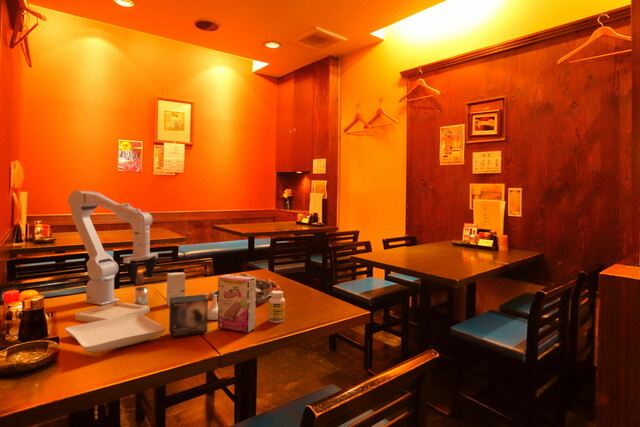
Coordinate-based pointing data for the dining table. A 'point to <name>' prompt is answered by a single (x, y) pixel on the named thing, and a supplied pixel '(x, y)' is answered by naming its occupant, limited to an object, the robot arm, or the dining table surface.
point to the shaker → (141, 296)
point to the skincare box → (175, 285)
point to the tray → (111, 311)
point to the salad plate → (115, 332)
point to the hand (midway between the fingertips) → (141, 279)
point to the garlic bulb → (213, 309)
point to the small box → (188, 315)
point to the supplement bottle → (276, 307)
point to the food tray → (257, 289)
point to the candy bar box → (236, 303)
